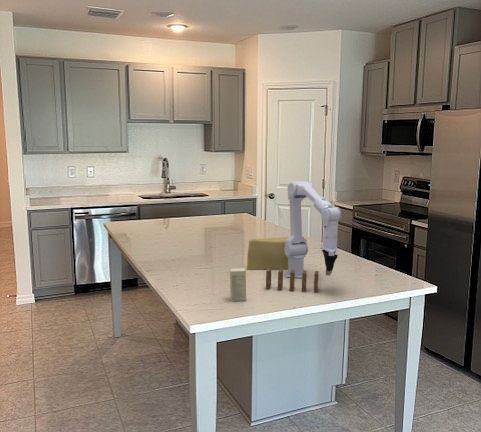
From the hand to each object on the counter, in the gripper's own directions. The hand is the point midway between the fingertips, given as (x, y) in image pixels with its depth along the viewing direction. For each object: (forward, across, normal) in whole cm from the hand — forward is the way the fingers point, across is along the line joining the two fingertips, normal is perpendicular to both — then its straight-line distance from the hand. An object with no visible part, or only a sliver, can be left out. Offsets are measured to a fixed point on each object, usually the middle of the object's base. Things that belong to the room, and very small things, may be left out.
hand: (328, 268), depth 200 cm
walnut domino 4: (+10, -1, -10) cm, 14 cm away
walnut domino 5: (+10, 0, -5) cm, 11 cm away
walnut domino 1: (+10, -2, -25) cm, 27 cm away
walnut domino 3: (+10, -2, -15) cm, 18 cm away
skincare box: (+10, +14, -36) cm, 40 cm away
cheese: (+10, -33, -25) cm, 43 cm away
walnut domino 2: (+10, -2, -20) cm, 22 cm away
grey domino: (+2, 0, 0) cm, 2 cm away
